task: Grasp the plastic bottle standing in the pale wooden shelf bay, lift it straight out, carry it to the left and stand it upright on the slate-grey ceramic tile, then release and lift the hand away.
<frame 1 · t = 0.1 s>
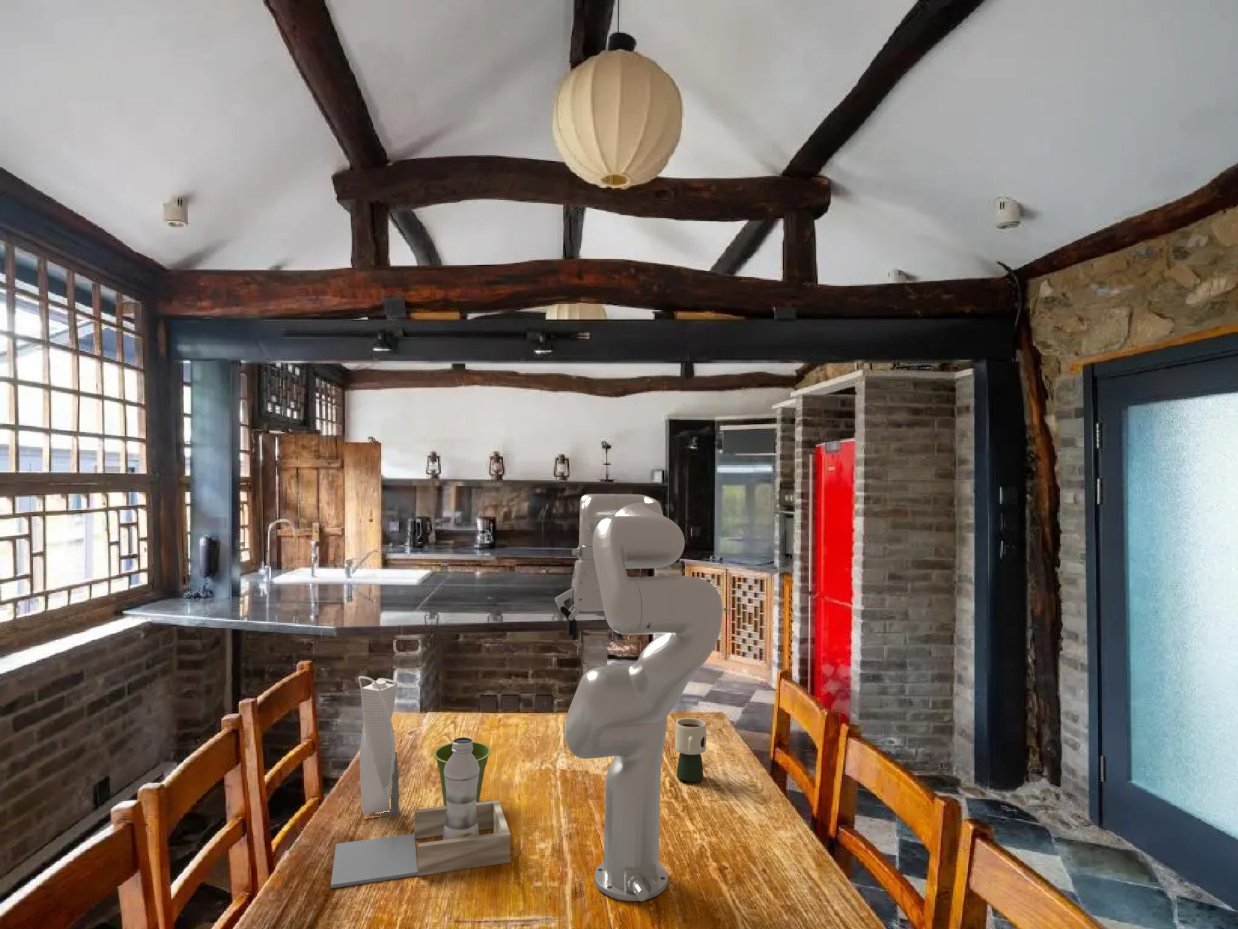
hand: (595, 637, 147), 37 cm above the table, tool pointing down, fingers open, 9 cm apart
skyscraper: (376, 811, 148), on the table
tile: (375, 860, 129), on the table
character mug: (690, 780, 166), on the table
plastic bottle: (460, 850, 133), resting in shelf bay
shelf bay: (460, 848, 133), on the table
plant pot: (461, 806, 151), on the table
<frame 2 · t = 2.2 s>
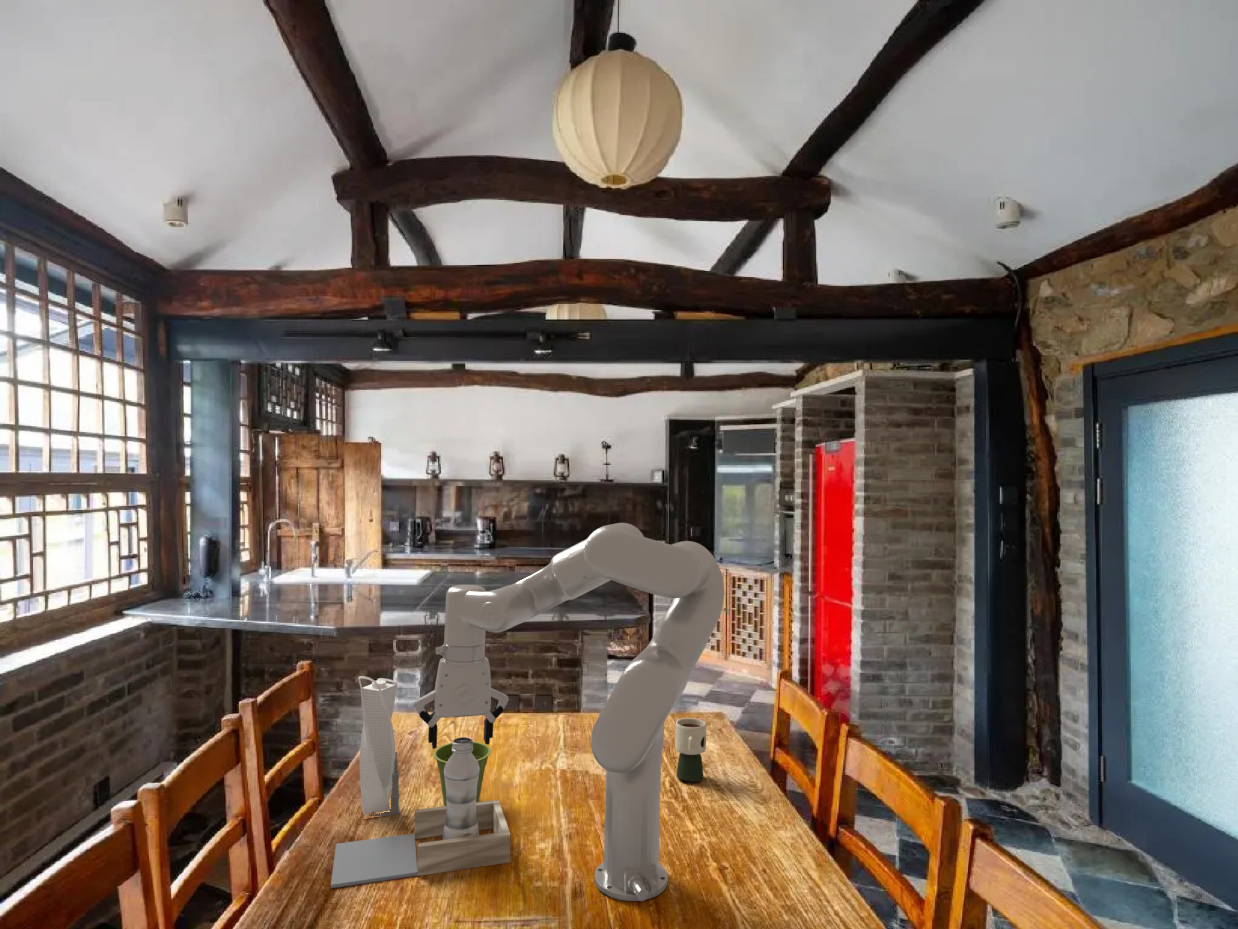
hand: (460, 744, 134), 19 cm above the table, tool pointing down, fingers open, 9 cm apart
nothing on the table moved.
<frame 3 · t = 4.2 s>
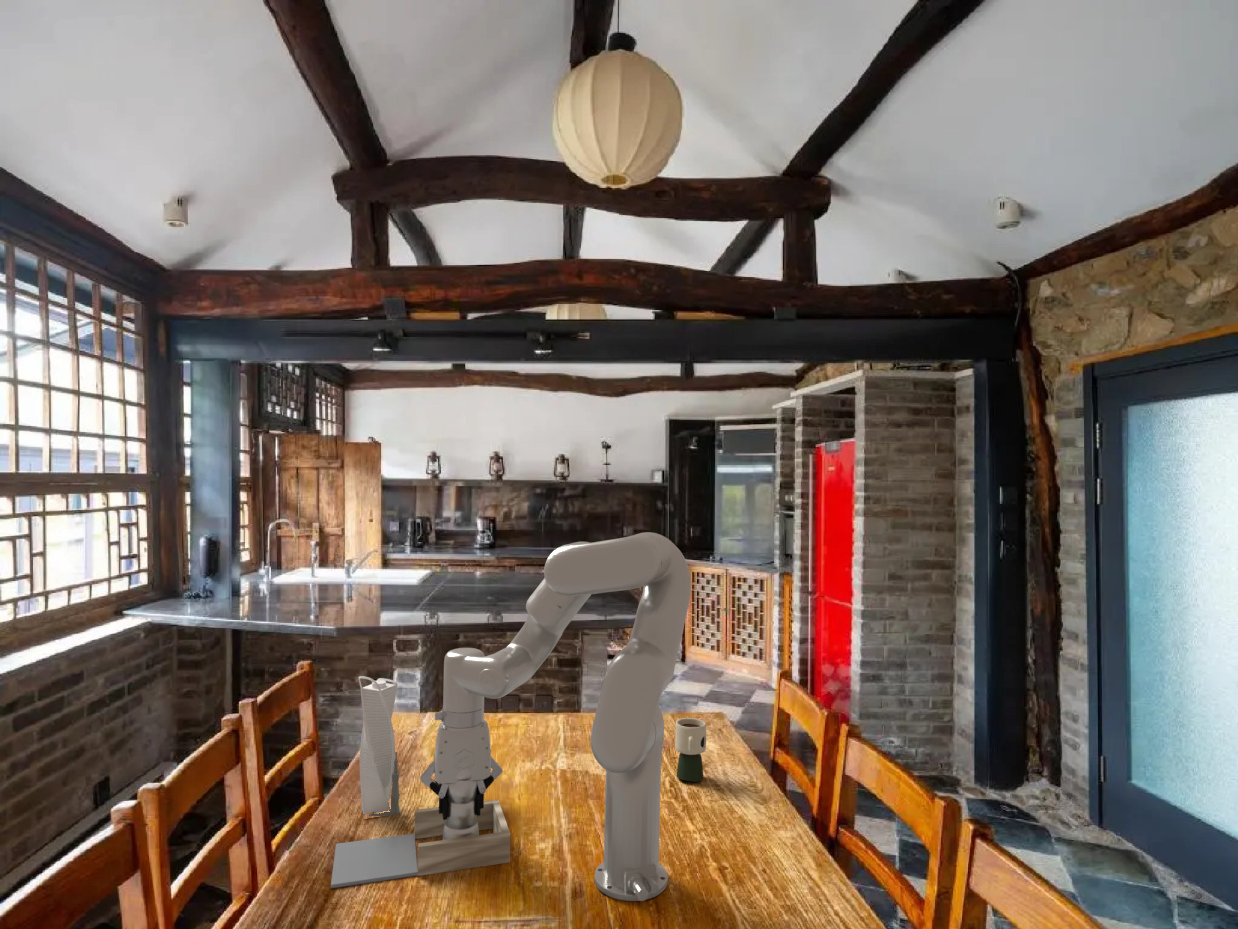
hand: (461, 813, 133), 6 cm above the table, tool pointing down, fingers closed on plastic bottle, 5 cm apart
plastic bottle: (460, 850, 133), resting in shelf bay, touching gripper
everything else where it was.
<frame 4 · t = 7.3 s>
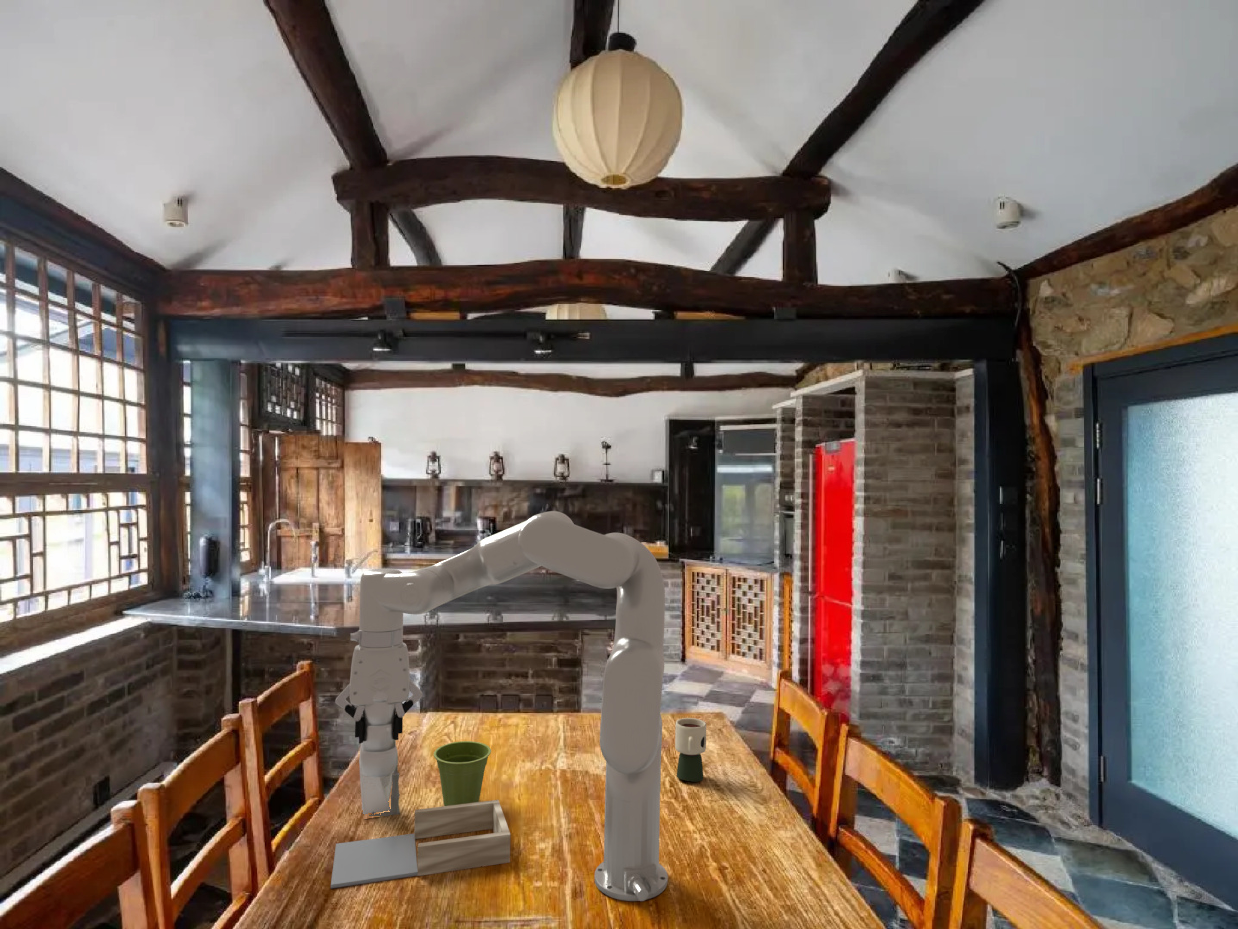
hand: (378, 738, 129), 22 cm above the table, tool pointing down, fingers closed on plastic bottle, 5 cm apart
plastic bottle: (378, 775, 129), point 15 cm above the table, touching gripper
everything else where it was.
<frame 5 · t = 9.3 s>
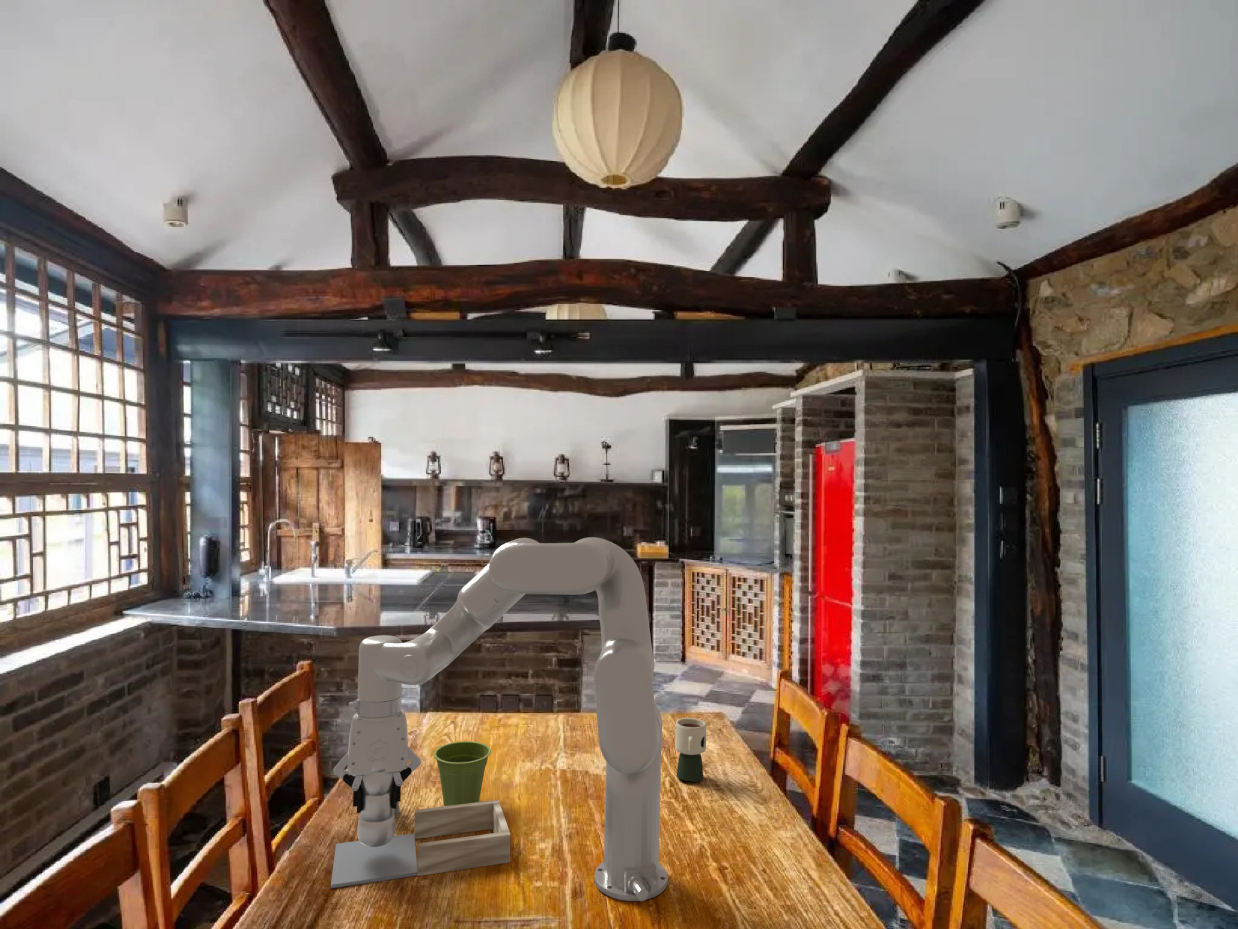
hand: (376, 806, 129), 10 cm above the table, tool pointing down, fingers closed on plastic bottle, 5 cm apart
plastic bottle: (376, 844, 129), point 3 cm above the table, touching gripper
everything else where it was.
when the fingers open (8 cm above the table, at t = 10.5 s): plastic bottle moves 1 cm, resting on tile.
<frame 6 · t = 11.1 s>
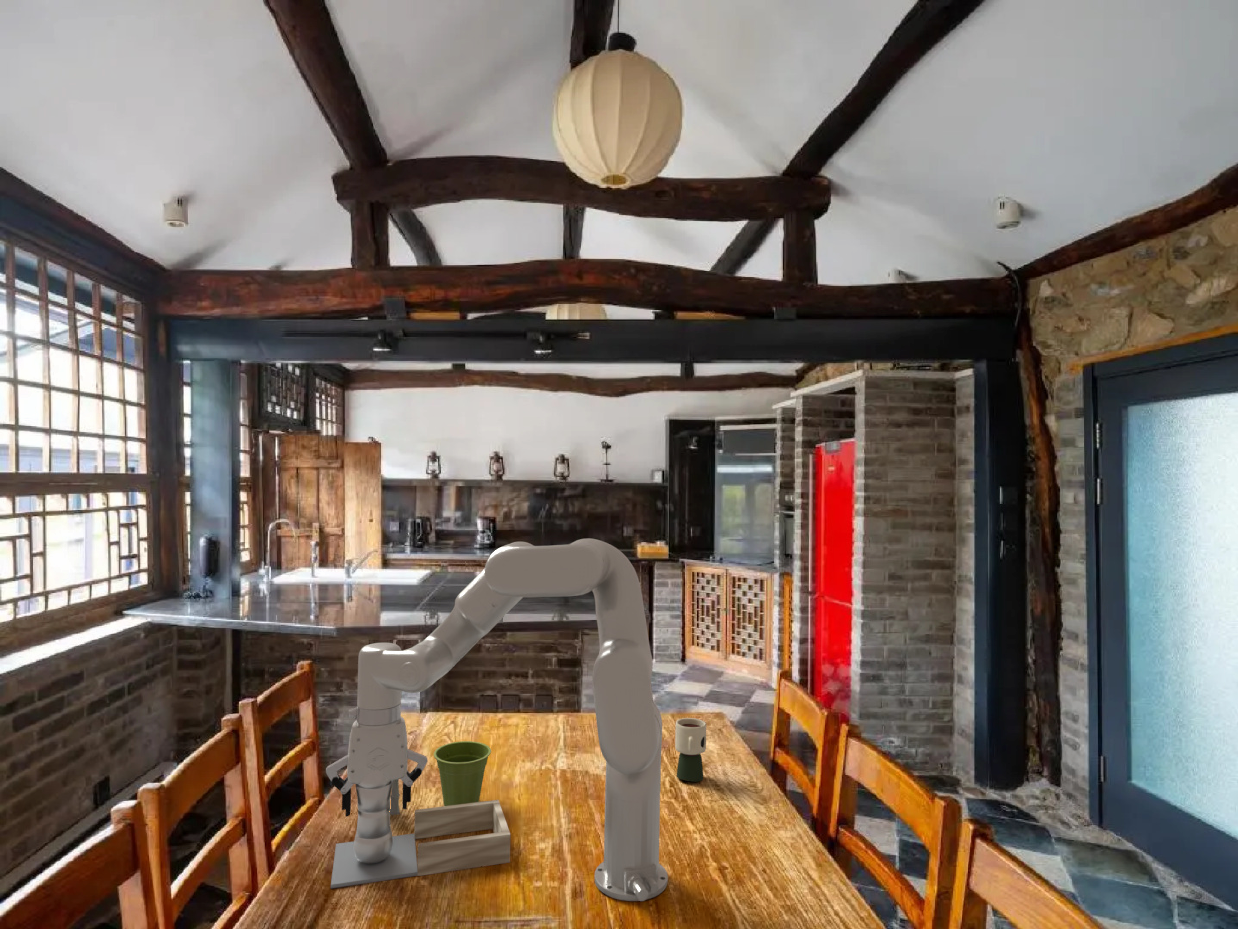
hand: (376, 809, 129), 9 cm above the table, tool pointing down, fingers open, 9 cm apart
plastic bottle: (372, 860, 128), resting on tile
everything else where it was.
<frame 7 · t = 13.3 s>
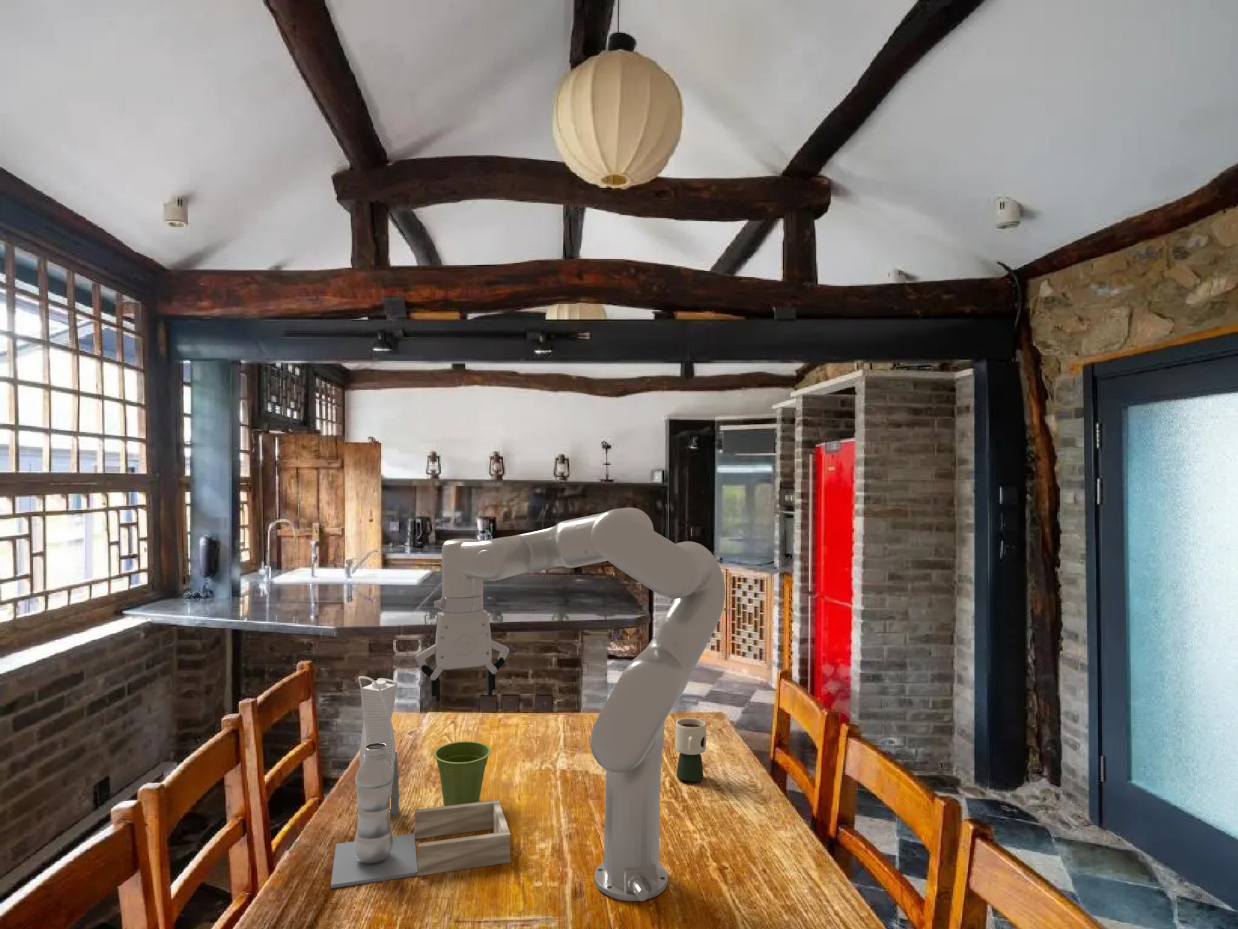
hand: (463, 696, 134), 28 cm above the table, tool pointing down, fingers open, 9 cm apart
nothing on the table moved.
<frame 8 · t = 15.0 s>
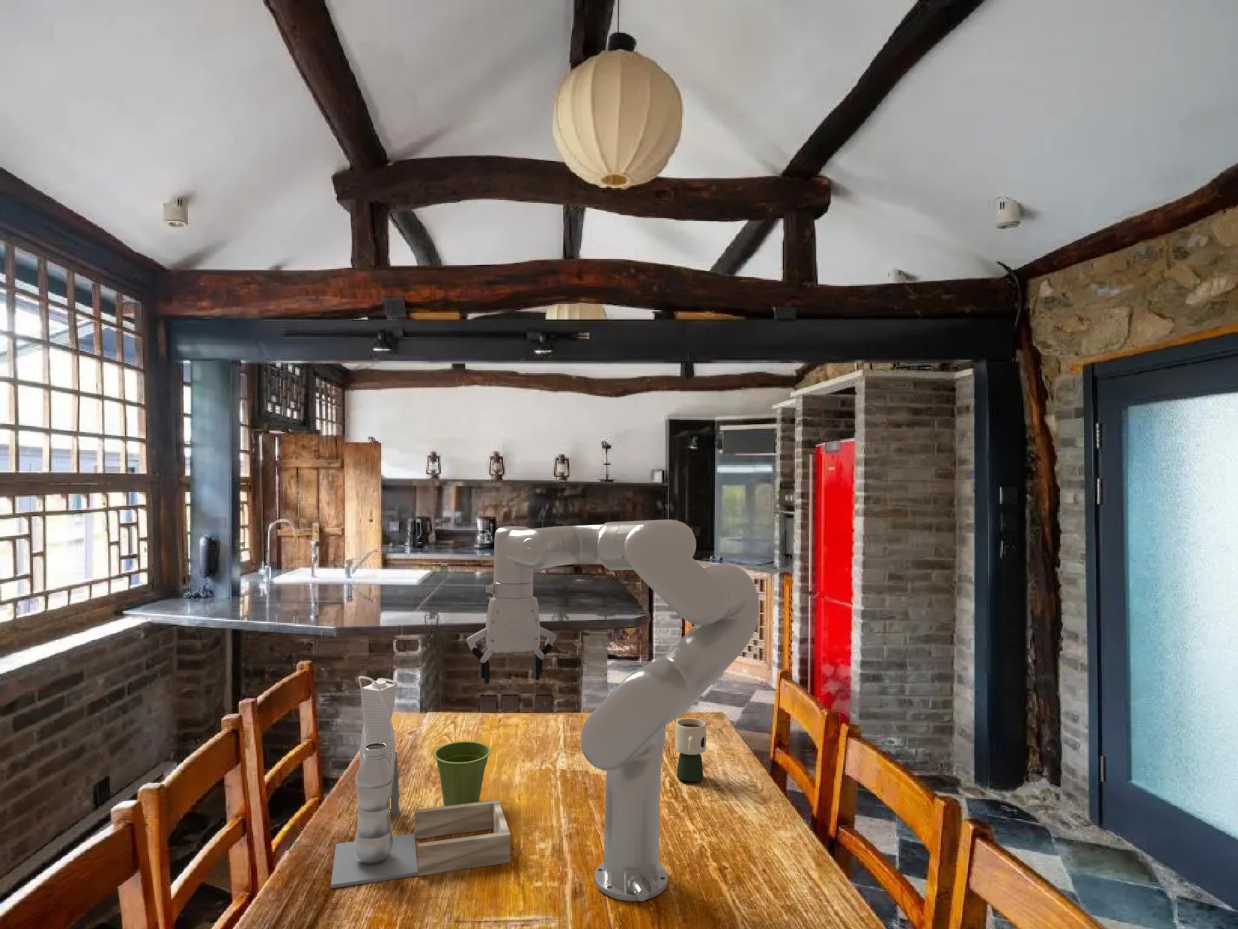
hand: (511, 680, 138), 30 cm above the table, tool pointing down, fingers open, 9 cm apart
nothing on the table moved.
at the end: plastic bottle inside the target area (0.6 cm from its centre), resting on tile; plastic bottle tilted 0°; the gripper is holding nothing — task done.
